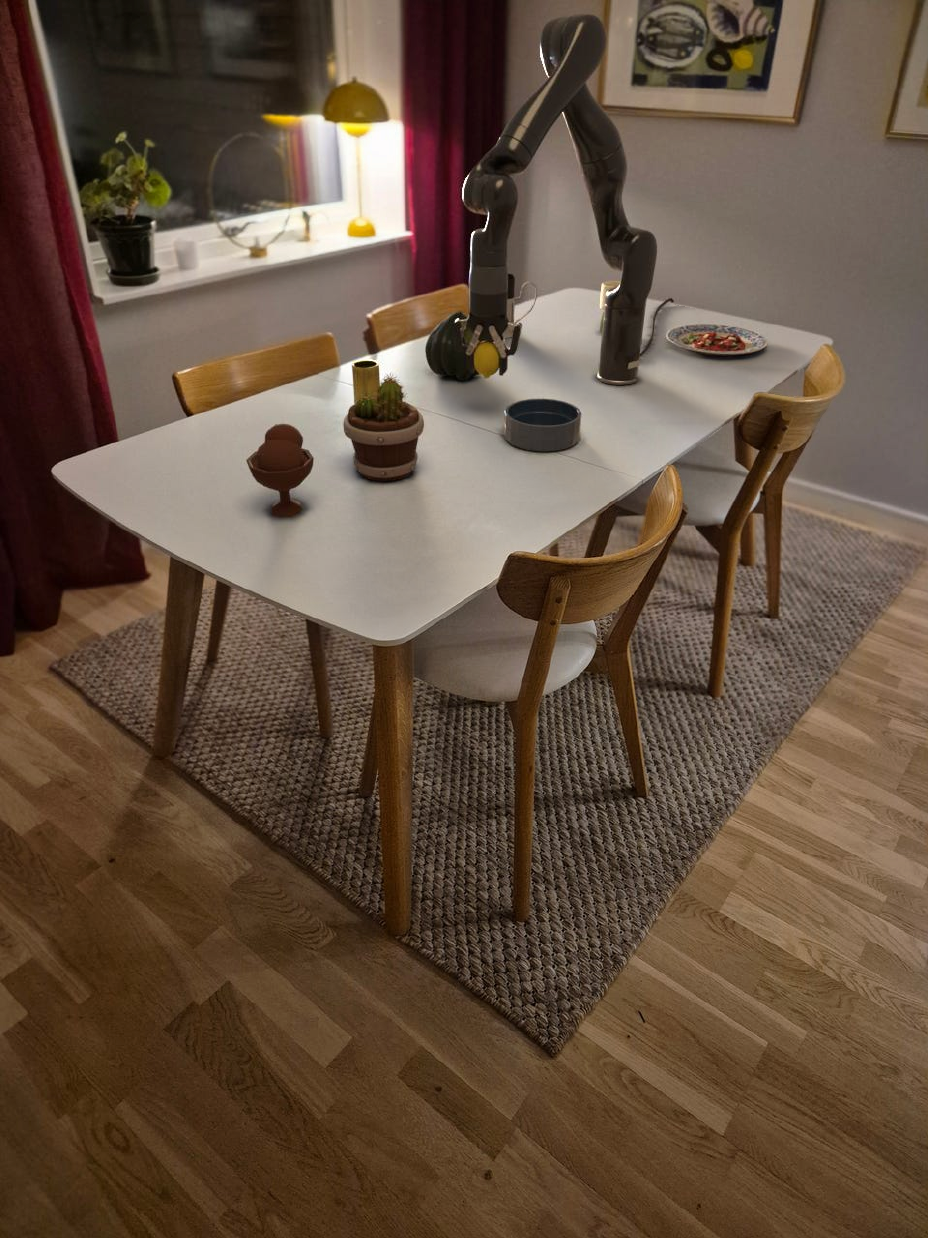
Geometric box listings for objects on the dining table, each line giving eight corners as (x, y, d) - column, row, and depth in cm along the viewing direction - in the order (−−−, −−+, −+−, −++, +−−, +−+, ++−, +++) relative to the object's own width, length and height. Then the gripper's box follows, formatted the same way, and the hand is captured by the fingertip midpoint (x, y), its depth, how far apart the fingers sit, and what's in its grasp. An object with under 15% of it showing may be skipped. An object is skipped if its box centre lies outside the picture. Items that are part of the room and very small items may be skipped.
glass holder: (485, 328, 235) (486, 271, 226) (536, 330, 233) (539, 273, 225) (481, 337, 228) (482, 279, 219) (533, 339, 226) (536, 281, 218)
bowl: (511, 420, 179) (512, 395, 176) (583, 427, 176) (585, 401, 173) (497, 449, 167) (498, 422, 164) (573, 456, 164) (576, 429, 161)
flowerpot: (336, 462, 161) (326, 358, 150) (411, 450, 166) (407, 348, 155) (358, 494, 150) (350, 384, 139) (438, 479, 155) (436, 372, 144)
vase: (389, 428, 175) (385, 360, 167) (377, 439, 170) (372, 370, 162) (362, 425, 177) (357, 357, 169) (349, 435, 172) (344, 366, 164)
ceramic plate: (777, 341, 225) (780, 330, 223) (748, 368, 207) (751, 356, 205) (685, 326, 236) (687, 315, 235) (650, 350, 219) (652, 339, 217)
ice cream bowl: (257, 496, 149) (245, 415, 141) (320, 494, 150) (312, 414, 142) (250, 525, 141) (236, 441, 132) (317, 522, 141) (308, 439, 133)
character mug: (613, 340, 226) (618, 290, 218) (589, 336, 229) (593, 286, 222) (630, 330, 233) (636, 281, 226) (607, 326, 236) (612, 278, 229)
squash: (445, 368, 190) (477, 309, 189) (404, 355, 199) (435, 299, 199) (480, 398, 201) (511, 342, 200) (440, 384, 210) (469, 331, 210)
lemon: (497, 383, 171) (498, 344, 167) (471, 381, 172) (471, 342, 167) (502, 374, 176) (503, 336, 171) (476, 372, 176) (476, 334, 172)
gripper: (528, 285, 165) (524, 370, 175) (457, 280, 168) (457, 364, 178) (521, 294, 159) (517, 382, 169) (447, 290, 162) (448, 376, 172)
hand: (486, 372), depth 173 cm, fingers closed on lemon, 5 cm apart
